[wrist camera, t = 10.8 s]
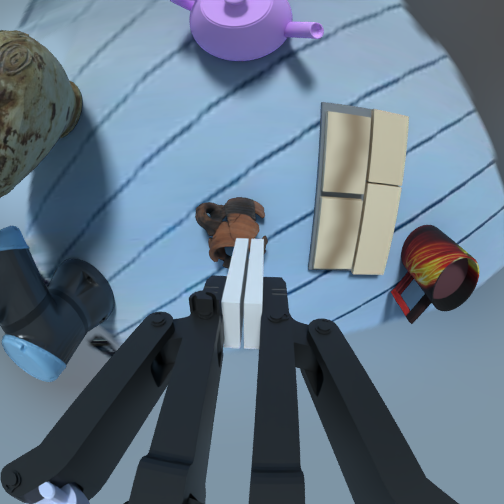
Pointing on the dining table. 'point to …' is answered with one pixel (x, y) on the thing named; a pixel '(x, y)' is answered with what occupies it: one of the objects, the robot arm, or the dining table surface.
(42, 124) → the vase
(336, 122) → the plank near
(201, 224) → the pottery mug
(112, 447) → the robot arm
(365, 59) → the dining table surface
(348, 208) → the plank far
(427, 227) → the mug
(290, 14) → the teapot
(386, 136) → the floor panel
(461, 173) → the dining table surface
